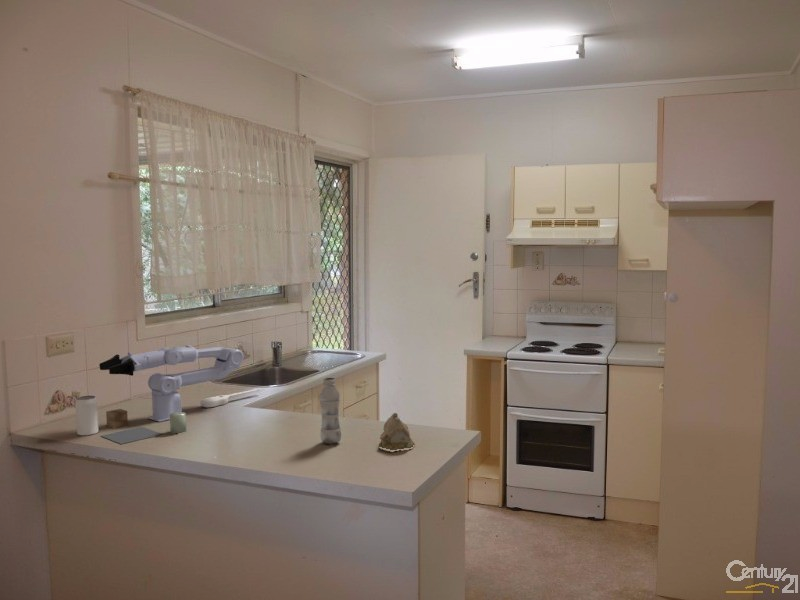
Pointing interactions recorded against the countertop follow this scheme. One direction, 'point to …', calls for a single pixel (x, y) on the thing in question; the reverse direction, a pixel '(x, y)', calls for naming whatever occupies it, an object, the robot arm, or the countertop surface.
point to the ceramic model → (395, 434)
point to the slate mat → (131, 435)
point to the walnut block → (117, 418)
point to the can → (86, 415)
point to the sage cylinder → (177, 422)
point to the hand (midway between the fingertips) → (104, 368)
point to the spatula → (221, 399)
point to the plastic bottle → (330, 412)
